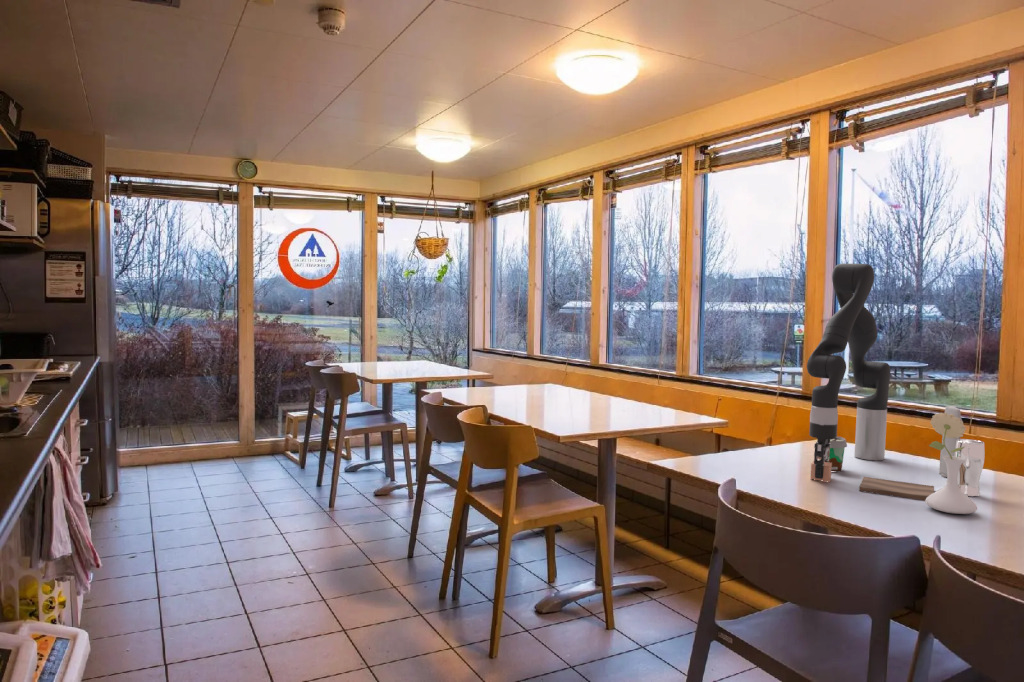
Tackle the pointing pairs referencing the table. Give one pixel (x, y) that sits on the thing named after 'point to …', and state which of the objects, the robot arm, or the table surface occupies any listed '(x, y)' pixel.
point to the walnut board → (896, 488)
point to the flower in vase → (950, 469)
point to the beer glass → (970, 465)
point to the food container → (837, 453)
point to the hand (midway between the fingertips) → (820, 475)
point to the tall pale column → (948, 441)
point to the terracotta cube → (825, 475)
